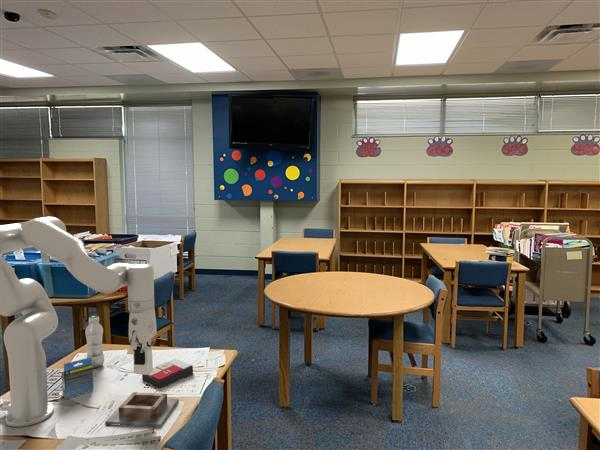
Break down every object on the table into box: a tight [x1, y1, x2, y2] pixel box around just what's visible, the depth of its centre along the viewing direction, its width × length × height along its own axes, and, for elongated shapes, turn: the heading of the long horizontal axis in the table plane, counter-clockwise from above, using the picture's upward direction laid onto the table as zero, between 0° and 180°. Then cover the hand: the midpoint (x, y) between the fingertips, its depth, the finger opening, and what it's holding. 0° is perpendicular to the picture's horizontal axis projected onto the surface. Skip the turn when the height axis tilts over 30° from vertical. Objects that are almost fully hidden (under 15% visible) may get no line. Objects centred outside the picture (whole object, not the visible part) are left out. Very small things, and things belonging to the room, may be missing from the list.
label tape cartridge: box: [61, 357, 94, 400], centre depth 141 cm, size 9×4×12 cm, turn 132°
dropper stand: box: [104, 391, 179, 428], centre depth 130 cm, size 17×15×4 cm
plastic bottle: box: [84, 315, 105, 369], centre depth 162 cm, size 6×7×20 cm
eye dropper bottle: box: [132, 341, 154, 376], centre depth 128 cm, size 4×6×12 cm
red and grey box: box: [141, 358, 194, 389], centre depth 155 cm, size 11×4×15 cm
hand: (142, 360), depth 129 cm, fingers closed on eye dropper bottle, 3 cm apart
